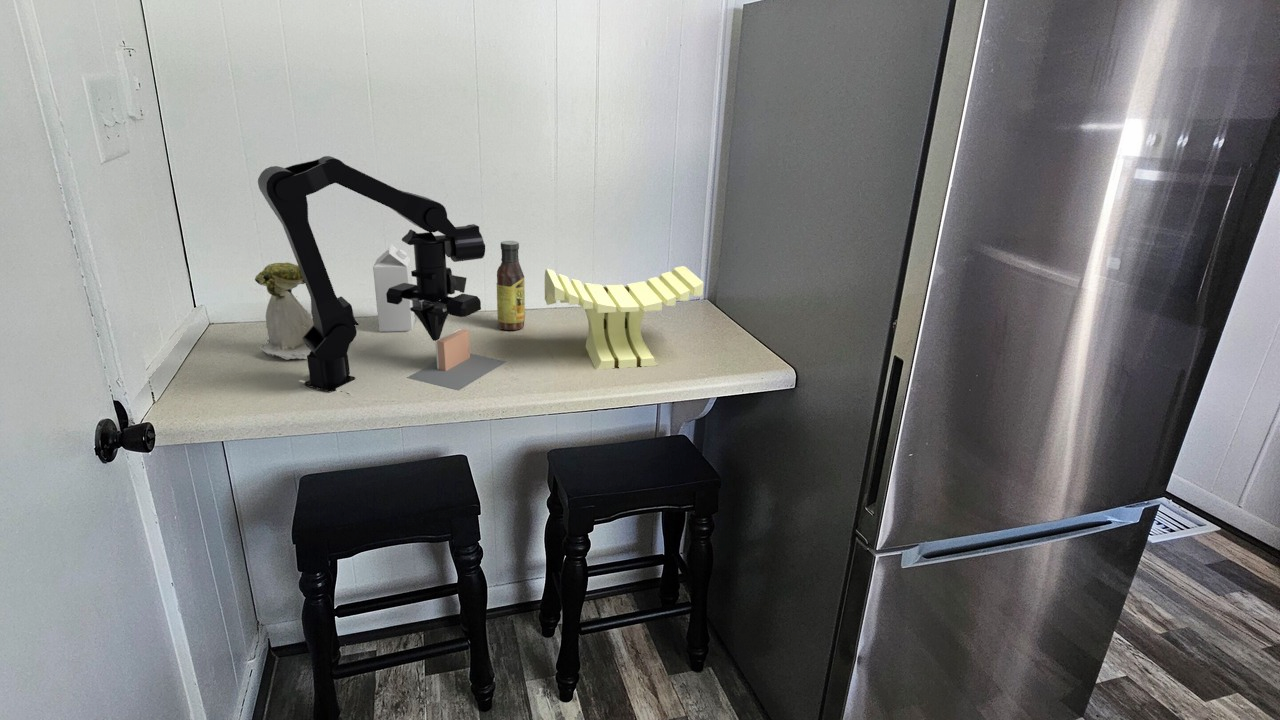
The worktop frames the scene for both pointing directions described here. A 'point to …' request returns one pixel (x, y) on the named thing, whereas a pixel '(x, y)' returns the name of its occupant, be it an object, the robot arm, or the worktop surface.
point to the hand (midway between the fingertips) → (436, 340)
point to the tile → (452, 349)
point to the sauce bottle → (510, 289)
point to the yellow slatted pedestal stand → (621, 312)
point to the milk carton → (388, 274)
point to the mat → (458, 372)
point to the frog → (285, 312)
